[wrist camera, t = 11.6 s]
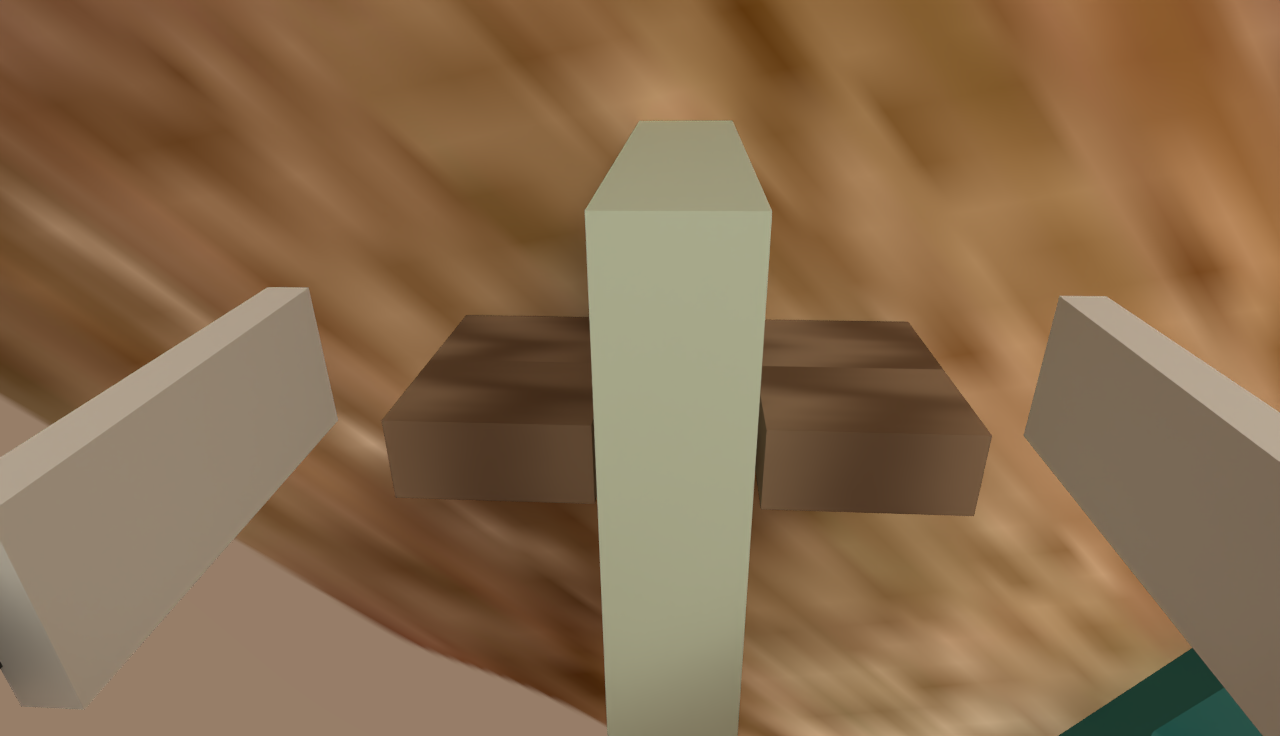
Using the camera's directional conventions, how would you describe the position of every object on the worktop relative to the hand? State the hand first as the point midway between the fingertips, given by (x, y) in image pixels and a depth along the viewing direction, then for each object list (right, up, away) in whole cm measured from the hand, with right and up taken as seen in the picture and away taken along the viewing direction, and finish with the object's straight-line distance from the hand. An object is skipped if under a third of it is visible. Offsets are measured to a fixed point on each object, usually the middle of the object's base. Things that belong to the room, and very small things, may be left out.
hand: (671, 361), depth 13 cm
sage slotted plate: (+1, +1, +14) cm, 14 cm away
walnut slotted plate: (+1, +1, +14) cm, 14 cm away
